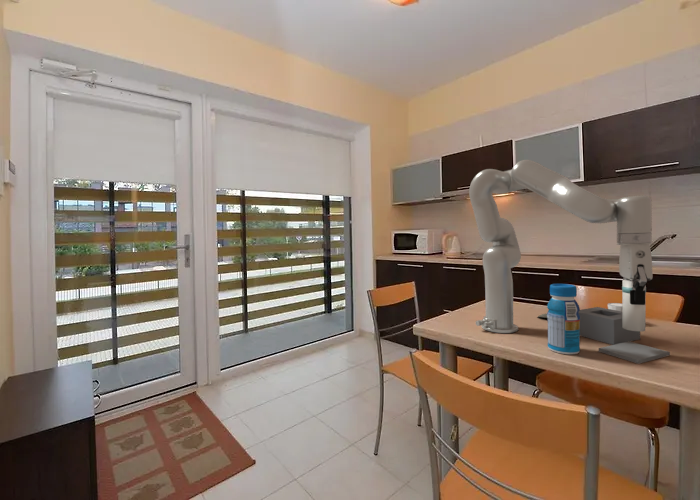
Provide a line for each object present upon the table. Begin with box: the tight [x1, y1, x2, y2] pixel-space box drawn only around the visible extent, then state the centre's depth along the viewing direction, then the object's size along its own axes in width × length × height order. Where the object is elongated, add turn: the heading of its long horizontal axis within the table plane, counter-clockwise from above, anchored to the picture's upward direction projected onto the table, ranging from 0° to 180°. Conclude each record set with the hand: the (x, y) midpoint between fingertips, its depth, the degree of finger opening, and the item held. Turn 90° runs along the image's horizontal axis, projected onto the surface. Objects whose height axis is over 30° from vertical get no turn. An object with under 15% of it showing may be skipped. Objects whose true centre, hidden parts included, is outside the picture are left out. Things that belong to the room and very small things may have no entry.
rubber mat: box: [598, 341, 671, 364], centre depth 93 cm, size 14×10×1 cm
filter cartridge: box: [621, 279, 647, 332], centre depth 92 cm, size 5×5×14 cm
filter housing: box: [578, 306, 641, 345], centre depth 108 cm, size 13×13×8 cm
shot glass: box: [607, 302, 622, 311], centre depth 122 cm, size 7×7×7 cm
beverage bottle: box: [546, 283, 581, 355], centre depth 97 cm, size 8×8×20 cm
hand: (633, 301), depth 92 cm, fingers closed on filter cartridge, 5 cm apart
